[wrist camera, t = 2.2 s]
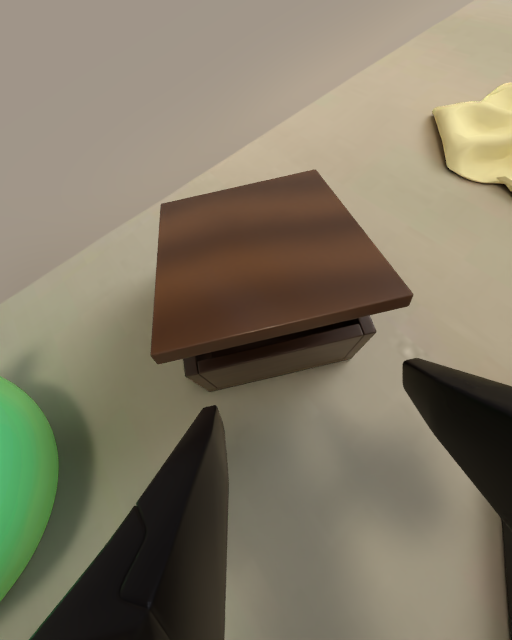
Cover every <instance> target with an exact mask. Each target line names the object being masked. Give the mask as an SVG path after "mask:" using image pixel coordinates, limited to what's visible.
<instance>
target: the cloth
mask: <svg viewBox="0 0 512 640" xmlns="http://www.w3.org/2000/svg"><path fill="white" fill-rule="evenodd" d="M432 112H433V115H435V120H436V123H437V126H438V130H439V133H440V136H441V138H442V142H443V148H444V153H445V158H446V164H447V167H448V168H449V169H450V170H452V171H454V172H455V173H457V174H459V175H460V176H462V177H464V178H466V179H469V180H471V181H475V182H480V183H500V184H505V185H506V186H507V187H508V188H509V190H510V191H511V192H512V83H505V84H502V85H501V86H499V87H498V88H496V89H495V90H494V91H492V92H491V93H490V94H489V95H487V96H486V97H485V98H484V99H483V100H482V101H481V102H477V101H470V102H462V103H456V104H453V105H447V106H440V107H436V108H434V109H433V111H432Z"/></svg>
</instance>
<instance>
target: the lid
mask: <svg viewBox="0 0 512 640" xmlns="http://www.w3.org/2000/svg"><path fill="white" fill-rule="evenodd" d="M412 297H413V293H412V292H411V290H410V289H409V288H408V287H407V285H406V284H405V283H404V282H403V280H402V279H401V278H400V276H399V275H398V274H397V273H396V271H395V270H394V269H393V267H392V266H391V265H390V264H389V262H388V261H387V260H386V259H385V257H384V256H383V255H382V253H381V252H380V251H379V250H378V248H377V247H376V246H375V245H374V243H373V242H372V241H371V239H370V238H369V237H368V236H367V234H366V233H365V232H364V230H363V229H362V228H361V227H360V225H359V224H358V223H357V222H356V220H355V219H354V218H353V216H352V215H351V214H350V213H349V211H348V210H347V209H346V208H345V206H344V205H343V204H342V202H341V201H340V200H339V199H338V197H337V196H336V195H335V194H334V192H333V191H332V190H331V188H330V187H329V186H328V185H327V183H326V182H325V181H324V179H323V178H322V177H321V176H320V174H319V173H318V172H317V171H316V170H310V171H306V172H301V173H297V174H293V175H288V176H284V177H279V178H275V179H270V180H266V181H261V182H257V183H252V184H248V185H244V186H239V187H235V188H230V189H226V190H221V191H217V192H212V193H208V194H203V195H199V196H195V197H190V198H186V199H181V200H177V201H172V202H168V203H163V204H161V209H160V224H159V238H158V253H157V268H156V283H155V297H154V312H153V327H152V341H151V357H152V358H153V359H154V361H155V362H156V363H157V364H162V363H167V362H171V361H175V360H180V359H184V358H188V357H192V356H197V355H201V354H205V353H210V352H214V351H218V350H222V349H227V348H231V347H235V346H240V345H244V344H248V343H253V342H257V341H261V340H265V339H270V338H274V337H278V336H283V335H287V334H291V333H295V332H300V331H304V330H308V329H313V328H317V327H321V326H326V325H330V324H334V323H338V322H343V321H347V320H351V319H356V318H360V317H364V316H368V315H373V314H377V313H381V312H386V311H390V310H394V309H399V308H403V307H407V306H409V304H410V302H411V300H412Z"/></svg>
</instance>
